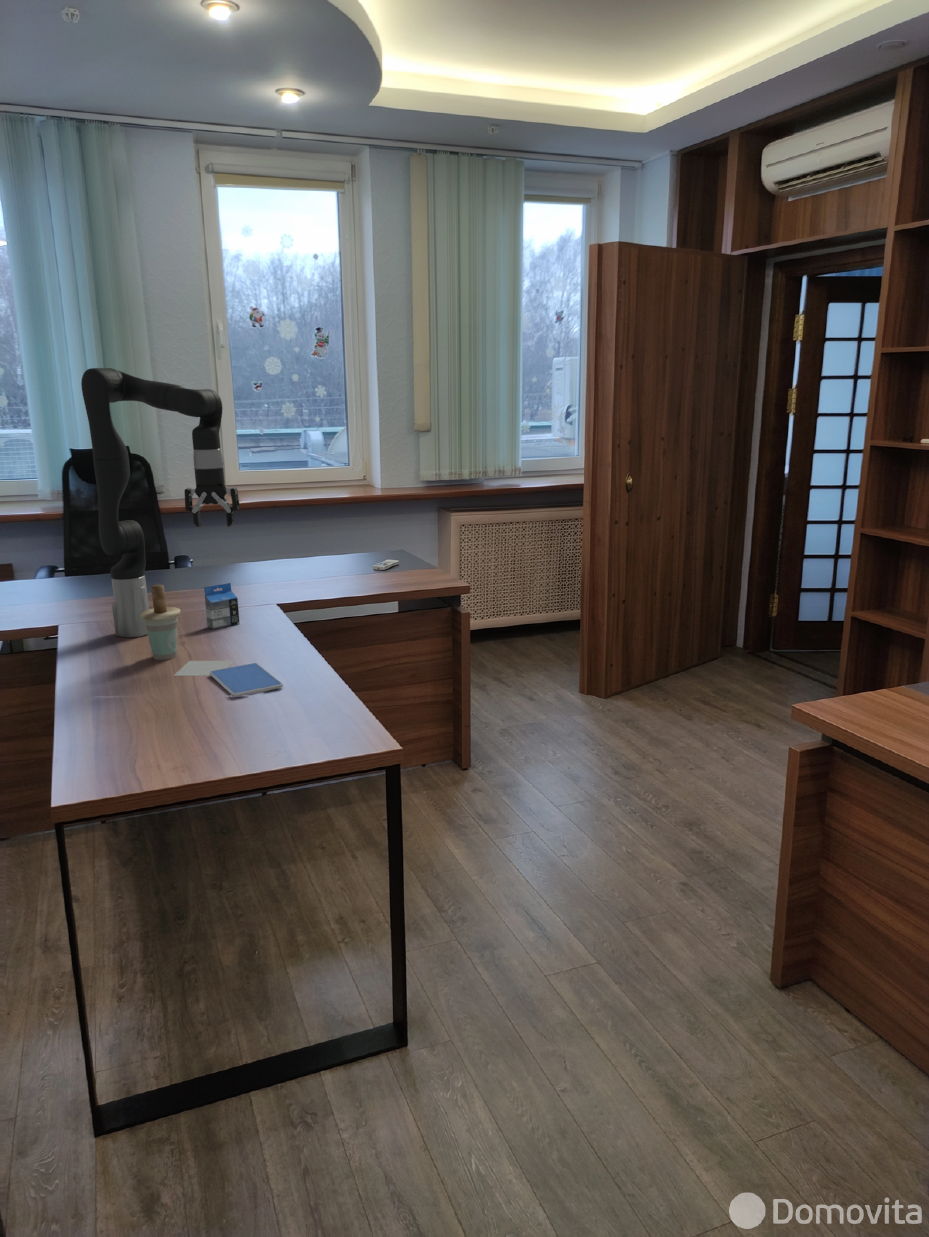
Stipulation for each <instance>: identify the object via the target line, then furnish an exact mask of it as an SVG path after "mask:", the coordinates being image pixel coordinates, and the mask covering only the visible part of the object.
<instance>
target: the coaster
mask: <svg viewBox="0 0 929 1237" xmlns="http://www.w3.org/2000/svg"><path fill="white" fill-rule="evenodd" d="M234 662H235V660H189V661H187V663H186V664H185V665H183V666H182V667H181V668H180V669H179V670H177V672H176V673H174V674H173V677H197V676H198V677H201V676H202V677H206V676H207V677H209V676H210V677H212V676H211V675H210V674H209V673H210V672H211V671H214V670H220V669H225V668H230V667H231V665H233V663H234Z"/></svg>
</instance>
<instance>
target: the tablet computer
mask: <svg viewBox="0 0 929 1237" xmlns="http://www.w3.org/2000/svg"><path fill="white" fill-rule="evenodd" d="M209 674H210V675H211V676H210V677H212V678H213V679H214V680H215V681H216V682H217V683H218V684H219V685H220V686H221V687H223V688H224V689H225V690H226V691H227V692H228V693H229V694H230V695H231V697H244V696H247V695H248V696H249V695H254V694H259V693H264V692H268V691H273V690H276V689H281V688H283V687H284V683H282V681H280V680H279V679H277V678H276V677H275V676H273V674H271V673H270V672H269V671H267V670H266V669H265V668H263V667H262V665H260V664H258V663H254V662H253V663H248V664H243V665H238V666H232V667H231V666H230V667H228V668H225V669H220V670H214V671H211V672H210V673H209Z"/></svg>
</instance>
